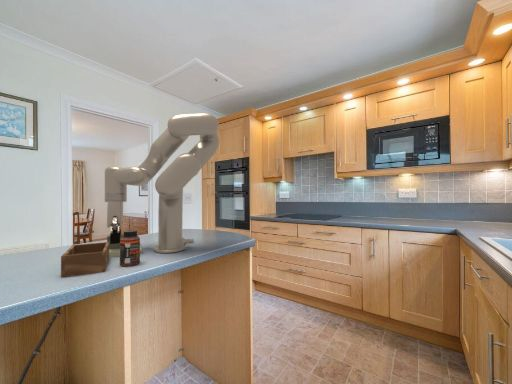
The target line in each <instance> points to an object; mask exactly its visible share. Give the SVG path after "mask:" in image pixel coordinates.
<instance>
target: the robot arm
mask: <svg viewBox="0 0 512 384" xmlns="http://www.w3.org/2000/svg"><path fill="white" fill-rule="evenodd" d="M219 125H220V124H219V121H218V119H217V117H216V116H214V115H213V114H211V113H202V112H201V113H184V114H176V115H173V116H171V117H169V119H168V120H167V128H166V129H165V130H164V131H163V132H162V133H161V134H160V135H159V136H158V137H157V138H156V139H155V140H154V141H153V143H152V144H151V145H150V149H149V152H148V155H147V156H146V158H145V159H144V160H143V161H142V163H141V164H140V165H139V166H126V167H121V166H120V167H119V166H108V167H106V168H105V169H104V203H107V207H106V209H107V210H106V212H107V213H106V228H110V234H109V236H110V244H117V243H120V235H122V228H121V227H122V225H123V220H124V219H123V218H124V203H126V202H127V199H128V197H127V195H128V189H127V188H128V187H127V186H134V187H135V186H136V187H137V186H138V187H144V186H145V185H147V184H149V182H150V181H151V180H152V179H154V178H155V176H156V175H157V174H158V173H159V172H160V171H161V169H162V168H163V166H164V165H165V164H166V163H167V162H168V161H169V159H170V158H171V157H172V156H173V155H174V154H175V152H176V151H177V150H178V149H179V148H180V147H181V146H182V145H183V144H184V143H185V142H186V141H187V139H188V138H189V137H190V136H199V141H198V142H197V143H196V144H195V145H194V146H193V147H192V148H191V149H190V150H189V151H188V152H186V153H181V154H179V156H177V157H176V158H175V159H174V160H173V161H172V162H171V163H170V164H169V165H168V166H167V167H166V168H165V169H164V170H163V171H162V172H161V173H160V174H159V176H158V177H157V178H156V180H155V183H154V187H155V188H154V189H155V190H156V192H157V194H158V210H157V211H158V213H157V214H158V225H157V226H158V231H157V232H158V233H157V234H158V241H157V242H158V245H157V246H154V248H153V249H154V250H153V251H154V252H155V253H158V254H171V253H178V252H183V251H184V250H185V251H186V249H187V244H189V245H190V244H194V243H195V239H194V238H184V237H183V211H184V210H183V204H184V203H183V202H184V201H183V200H184V199H183V198H184V197H183V196H184V187H186V185H188V183H189V182H190V181H191V180H192V179H193V178H194V177H196V176H197V175H198V174H199V173H200V171H201V170H202V169H203V168H204V167H205V165H206V164H207V163H208V162H209V161H210V160H211V158H212V157H213V156H215V154H216V153H217V150H218V148H219V143H220V140H219V134H218V130H219V127H220V126H219Z"/></svg>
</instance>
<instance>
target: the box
mask: <svg viewBox="0 0 512 384" xmlns="http://www.w3.org/2000/svg"><path fill="white" fill-rule="evenodd" d="M109 261H110V257H109V242H107V241H106V242H93V243H82V244H72V245H71V246H70V247H69V248H68V249H67V250H66V251H65V252H63V254H61V256H60V278H66V277H75V276H76V277H77V276H82V275H89V274H90V275H91V274H96V273H97V274H98V273H104V272H106V271H107V268H108V264H109Z"/></svg>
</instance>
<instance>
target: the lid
mask: <svg viewBox="0 0 512 384" xmlns="http://www.w3.org/2000/svg"><path fill="white" fill-rule="evenodd" d="M123 236H124V235H123V234H121V235H120V239H121V238H122V237H123ZM106 242H109V258H114V257H116V258H117V257H120V243H117V244H110V235H107V236H106ZM142 250H143V249H142V244H141V242H140V255H142V253H143V251H142Z"/></svg>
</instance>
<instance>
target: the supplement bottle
mask: <svg viewBox="0 0 512 384" xmlns="http://www.w3.org/2000/svg"><path fill="white" fill-rule="evenodd" d="M122 235H124V236H123V237H122V238H121V239H120V256H119V265H121V266H122V267H133V266H136V265H137V264H139V263H140V262H141V261H140V260H141V254H140V243H141V237H140V236H139V235H138V230H136V229H126V230H124V231H123V234H122Z"/></svg>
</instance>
